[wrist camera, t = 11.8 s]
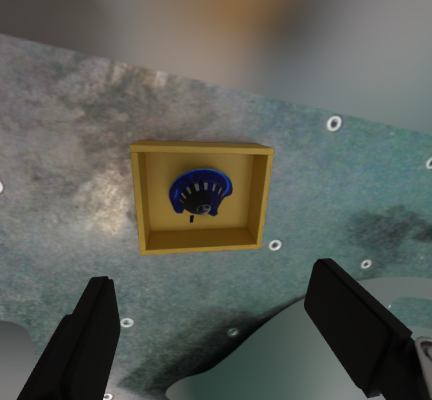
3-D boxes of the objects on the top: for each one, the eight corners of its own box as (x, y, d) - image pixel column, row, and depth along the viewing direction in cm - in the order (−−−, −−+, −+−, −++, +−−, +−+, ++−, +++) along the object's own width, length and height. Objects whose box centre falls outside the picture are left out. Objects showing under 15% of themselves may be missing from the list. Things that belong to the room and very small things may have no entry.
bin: (138, 140, 22) (129, 144, 18) (258, 143, 25) (274, 148, 20) (146, 233, 26) (140, 255, 22) (248, 229, 28) (261, 248, 24)
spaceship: (190, 231, 26) (187, 247, 21) (160, 188, 25) (150, 193, 20) (241, 199, 26) (250, 207, 21) (213, 154, 25) (216, 151, 20)
